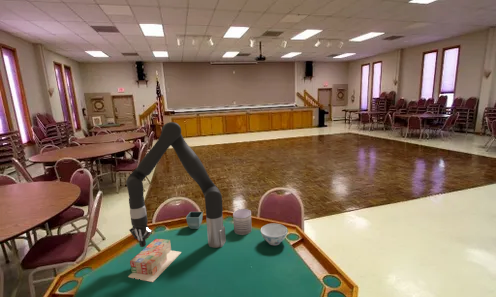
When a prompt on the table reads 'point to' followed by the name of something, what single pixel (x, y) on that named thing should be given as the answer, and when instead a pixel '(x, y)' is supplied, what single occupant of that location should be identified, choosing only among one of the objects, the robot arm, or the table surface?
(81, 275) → the table surface
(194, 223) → the flower pot
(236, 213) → the can
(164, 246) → the stack of blocks
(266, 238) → the chinaware
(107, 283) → the table surface
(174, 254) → the mat
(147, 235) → the robot arm
